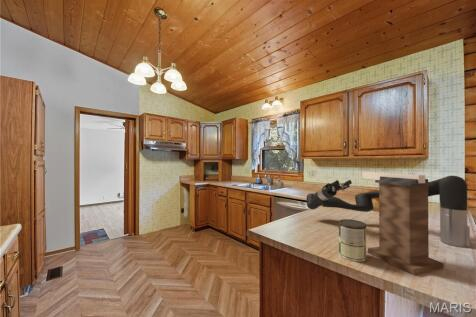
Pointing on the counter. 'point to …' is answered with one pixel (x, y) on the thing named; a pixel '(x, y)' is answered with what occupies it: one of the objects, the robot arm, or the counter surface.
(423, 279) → the counter surface
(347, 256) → the coffee can
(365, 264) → the counter surface
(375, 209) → the bread
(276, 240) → the counter surface
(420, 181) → the slat
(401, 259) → the stand
